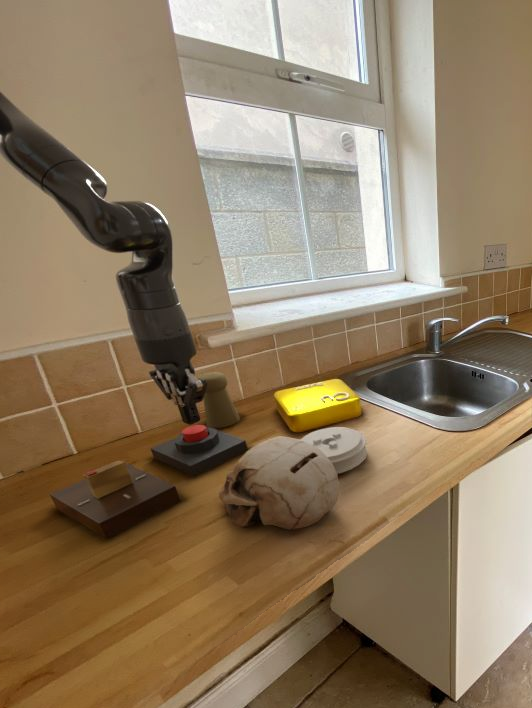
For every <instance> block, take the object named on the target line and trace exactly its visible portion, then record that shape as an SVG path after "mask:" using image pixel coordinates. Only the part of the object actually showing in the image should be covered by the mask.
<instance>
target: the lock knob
mask: <svg viewBox="0 0 532 708" xmlns="http://www.w3.org/2000/svg"><path fill="white" fill-rule="evenodd" d="M125 463H126V462H125V461H123V460H120V459H119V460H116V461H113V462H111V463H108V464H106V465H104V466H101V467H98V468H95V469H91V470H88V471H86V472H84V474H82V476H83V478H84V480H86V482H87V484H88V486H89V489H90V491H91V493H92V495H93V496H94V497H96V498H97V499H99V498H101V497H103V496H105V495H108V494H110V493H112V492H114V491H117V490H119V489H121V488H123V487H125V486H128V485H130V484H132V483H133V482H132V479H131V477H130V475H129V472H128V470H127V467H126V465H125Z"/></svg>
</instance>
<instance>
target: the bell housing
mask: <svg viewBox="0 0 532 708" xmlns="http://www.w3.org/2000/svg"><path fill="white" fill-rule="evenodd" d="M204 426H205V427H206V429H207V433H208V436H207V437H206V438H204V439H202V440H198V441H193V442H186V441H185V439H184V437H183V434H182V432H181V433H180V434H179V435H177V436H176V437H174V438H172V439H169V440H167V441H165V442H162V443H160V444H157V445H155V446H152V447H150V451H151V455H152V456H153V459H155V460H157V461H160V462H161V463H164V464H166V465H167V466H170V467H173V468H176V469H177V470H179V471H181V472H184V473H186V474H188V475H191V476H193V477H196V476H198V475H200V474H202V473H204V472H205V471H208V470H210V469H212V468H215V467H217V466H218V465H220V464H222V463H224V462H226V461H229V460H230V459H232V458H235V457H237V456H238V455H241V454H242V453H246V452H247V451H248V450H249V449H248V445H247V442H246V440H245V439H243V438H240V437H238V436H234V435H232V434H229V433H227V432H224V431H222V430H219V429H217V428H211V427H208V426H207V425H204Z"/></svg>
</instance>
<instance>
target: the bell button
mask: <svg viewBox="0 0 532 708" xmlns="http://www.w3.org/2000/svg"><path fill="white" fill-rule="evenodd" d="M205 426H206V425H203V424H193V425H189V426H188V427H187V426H186V427H185V428H184V429H182V430H181V433H182V434H183V437H184V439H185V441H186V442H193V441H198V440H202V439H204V438H206V437H207V436H208V433H207V429H206V427H205Z"/></svg>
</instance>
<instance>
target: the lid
mask: <svg viewBox="0 0 532 708" xmlns="http://www.w3.org/2000/svg"><path fill="white" fill-rule="evenodd" d="M300 440H301V441H303V442H306V443H308V444H310V445H313V446H315V447H317V448H318V449H320V450H321V451H322V452H323V453H324V454H325V455H326V456H327V458H328V459H329V460H330V461H331V462H332V464H333V466H334V468H335V470H336V472H337V475H339V474H342V473H346V472H348V471H350V470H353V469H354V468H357V466H359V465H361V464H362V463H363V462H364V461H365V460H366V458H367V456H368V448H367V446H366V444H367V439H366V436H365V435H364V434H363V433H362V432H360V431H359V430H356V429H353V428H350V427H344V426H334V427H333V426H332V427H326V428H321V429H317V430H314V431H312V432H309V433H308V434H306V435H304V436H302V438H300Z"/></svg>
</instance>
